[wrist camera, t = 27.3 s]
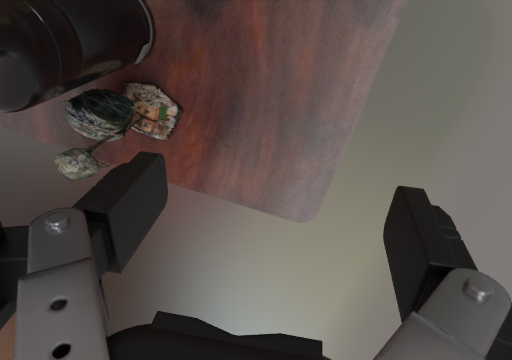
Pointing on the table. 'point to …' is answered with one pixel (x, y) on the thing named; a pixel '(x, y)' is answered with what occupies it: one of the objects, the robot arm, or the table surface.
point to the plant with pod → (114, 122)
